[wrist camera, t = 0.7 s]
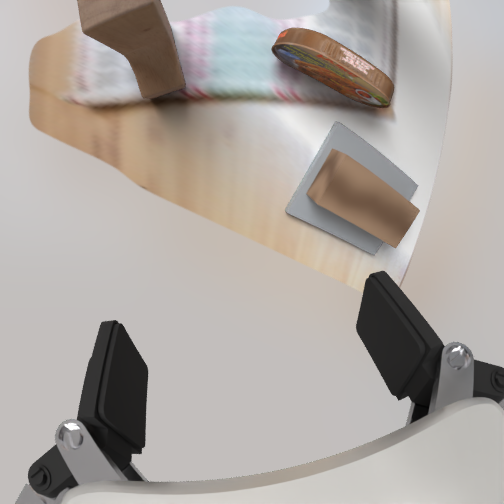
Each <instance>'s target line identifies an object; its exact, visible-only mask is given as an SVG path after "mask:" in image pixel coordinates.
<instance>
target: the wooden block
mask: <svg viewBox="0 0 504 504" xmlns="http://www.w3.org/2000/svg"><path fill="white" fill-rule="evenodd" d="M77 1H78V8H79V15H80V21H81V27H82V32H83V33H84V34H86V35H87V36H89V37H91V38H93V39H95V40H97V41H99V42H101V43H103V44H105V45H106V46H108V47H110V48H112V49H114V50H115V51H117V52H119V53H121V54H122V55H124V56H125V57H126V58H127V60H128V61H129V63H130V65H131V67H132V69H133V71H134V74H135V76H136V79H137V82H138V86H139V89H140V92H141V95H142V97H143V98H148V99H153V98H156V97H159V96H162V95H165V94H168V93H171V92H174V91H177V90H180V89H183V88H185V86H186V84H185V80H184V76H183V73H182V69H181V65H180V61H179V57H178V54H177V50H176V46H175V42H174V38H173V34H172V30H171V27H170V24H169V21H168V18H167V16H166V13H165V11H164V8H163V5H162V3H161V1H160V0H77Z"/></svg>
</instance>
